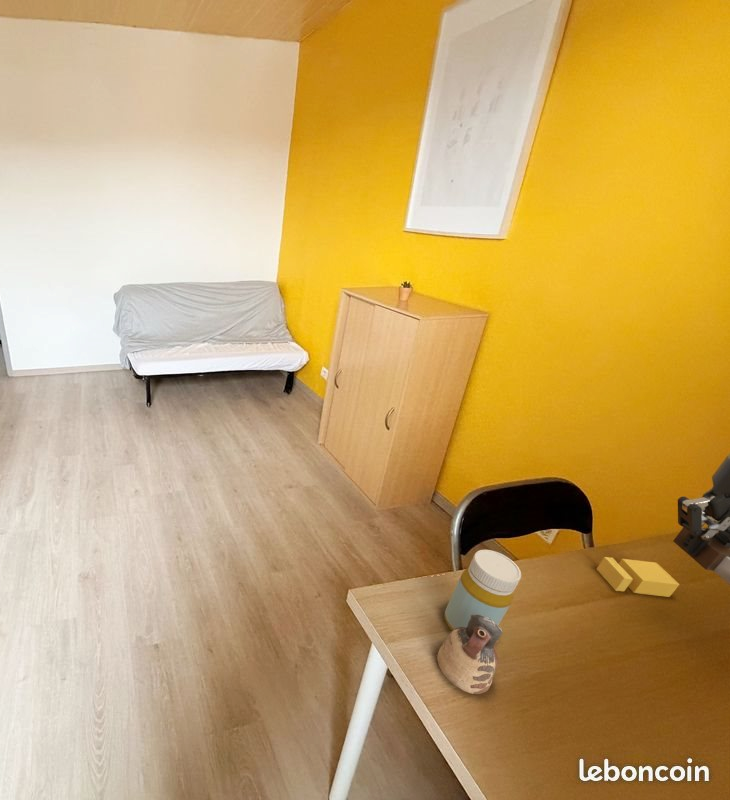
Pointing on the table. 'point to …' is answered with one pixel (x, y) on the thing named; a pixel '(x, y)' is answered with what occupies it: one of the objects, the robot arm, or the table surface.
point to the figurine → (471, 655)
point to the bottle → (483, 589)
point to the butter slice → (614, 574)
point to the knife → (711, 556)
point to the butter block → (649, 578)
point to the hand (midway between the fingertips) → (698, 553)
